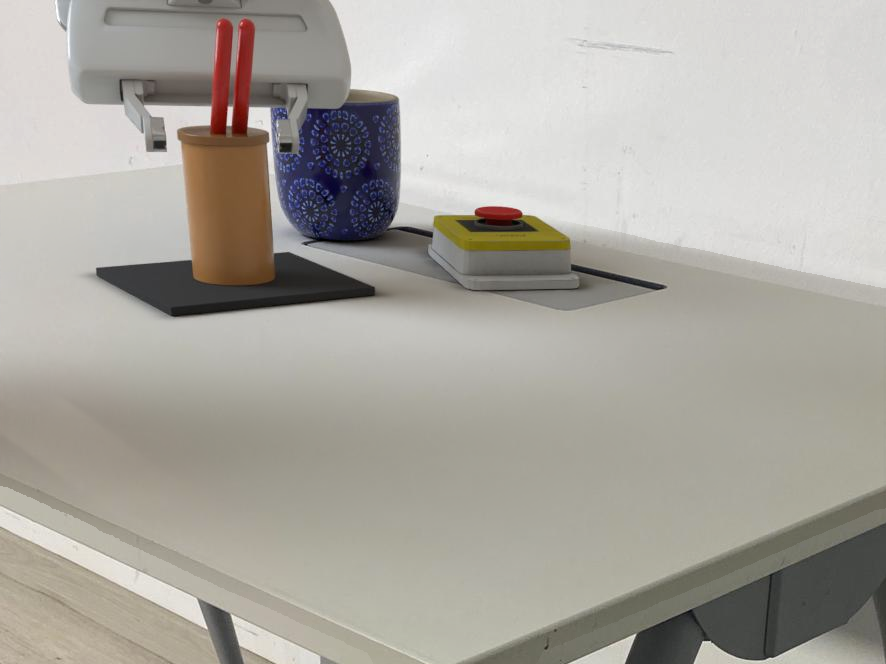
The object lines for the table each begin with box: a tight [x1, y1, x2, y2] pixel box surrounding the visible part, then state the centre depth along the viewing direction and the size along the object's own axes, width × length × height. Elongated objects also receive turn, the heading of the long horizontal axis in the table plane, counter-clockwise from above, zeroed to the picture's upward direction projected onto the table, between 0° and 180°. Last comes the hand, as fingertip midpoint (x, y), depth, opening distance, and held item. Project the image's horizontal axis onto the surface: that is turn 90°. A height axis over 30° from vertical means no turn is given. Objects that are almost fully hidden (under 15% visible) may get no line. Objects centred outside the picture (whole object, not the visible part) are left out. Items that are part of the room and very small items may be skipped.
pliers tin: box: [176, 18, 275, 286], centre depth 102 cm, size 6×7×17 cm
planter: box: [269, 88, 402, 242], centre depth 124 cm, size 11×11×11 cm
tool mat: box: [95, 251, 376, 317], centre depth 107 cm, size 16×14×1 cm
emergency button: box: [427, 205, 580, 291], centre depth 116 cm, size 9×4×15 cm
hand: (223, 147), depth 104 cm, fingers open, 8 cm apart
